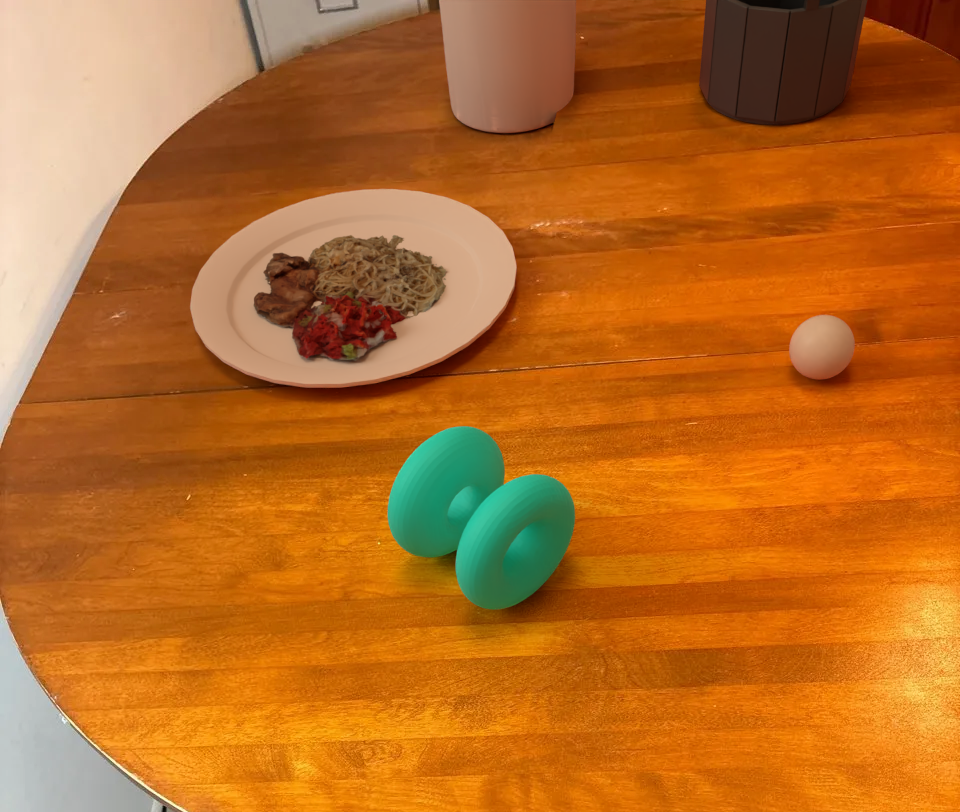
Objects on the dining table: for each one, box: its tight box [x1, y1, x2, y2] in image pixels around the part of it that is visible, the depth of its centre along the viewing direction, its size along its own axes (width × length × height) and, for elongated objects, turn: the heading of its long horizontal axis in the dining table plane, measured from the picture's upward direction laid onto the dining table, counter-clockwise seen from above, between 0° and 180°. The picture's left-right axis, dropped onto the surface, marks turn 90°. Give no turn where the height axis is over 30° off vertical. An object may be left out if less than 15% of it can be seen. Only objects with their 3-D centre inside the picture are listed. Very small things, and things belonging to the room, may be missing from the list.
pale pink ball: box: [788, 314, 856, 381], centre depth 85 cm, size 5×5×5 cm
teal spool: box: [387, 425, 576, 611], centre depth 73 cm, size 10×10×10 cm
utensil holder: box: [438, 0, 577, 134], centre depth 111 cm, size 15×15×18 cm
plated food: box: [189, 188, 518, 389], centre depth 97 cm, size 30×30×3 cm
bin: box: [698, 0, 868, 126], centre depth 107 cm, size 15×15×14 cm
